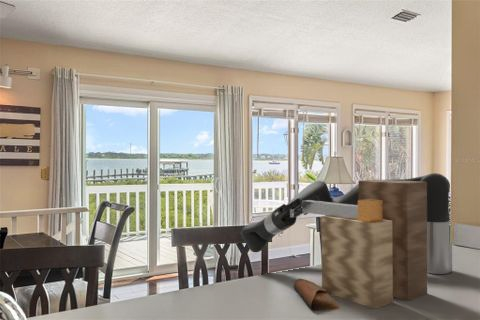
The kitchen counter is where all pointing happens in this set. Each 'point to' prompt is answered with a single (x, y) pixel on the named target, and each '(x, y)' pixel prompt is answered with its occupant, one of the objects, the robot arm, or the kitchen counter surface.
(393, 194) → the walnut stand
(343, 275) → the beige slab
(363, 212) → the steel pin
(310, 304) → the sunglasses case
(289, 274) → the kitchen counter surface
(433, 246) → the robot arm
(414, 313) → the kitchen counter surface
